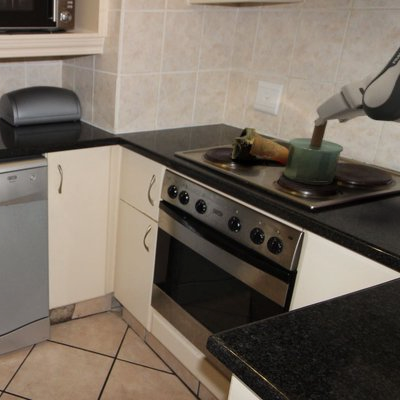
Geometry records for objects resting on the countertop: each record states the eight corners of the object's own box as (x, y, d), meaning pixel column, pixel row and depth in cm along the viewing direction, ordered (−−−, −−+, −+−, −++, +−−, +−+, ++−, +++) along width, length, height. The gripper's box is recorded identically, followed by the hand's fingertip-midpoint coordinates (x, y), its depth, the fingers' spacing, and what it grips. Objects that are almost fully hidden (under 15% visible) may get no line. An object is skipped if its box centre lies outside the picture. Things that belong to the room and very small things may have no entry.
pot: (304, 140, 141) (244, 119, 143) (288, 176, 142) (229, 154, 144) (284, 144, 158) (231, 125, 160) (270, 176, 159) (218, 156, 161)
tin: (338, 178, 140) (346, 147, 136) (323, 188, 132) (332, 155, 128) (293, 167, 148) (300, 138, 144) (276, 176, 140) (283, 145, 136)
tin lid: (348, 149, 136) (356, 120, 133) (332, 158, 128) (340, 128, 124) (298, 139, 145) (305, 112, 142) (280, 147, 137) (287, 119, 133)
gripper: (394, 80, 124) (349, 109, 136) (340, 84, 117) (297, 115, 129) (406, 100, 122) (359, 128, 134) (353, 106, 115) (308, 135, 127)
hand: (328, 122), depth 132 cm, fingers open, 8 cm apart
